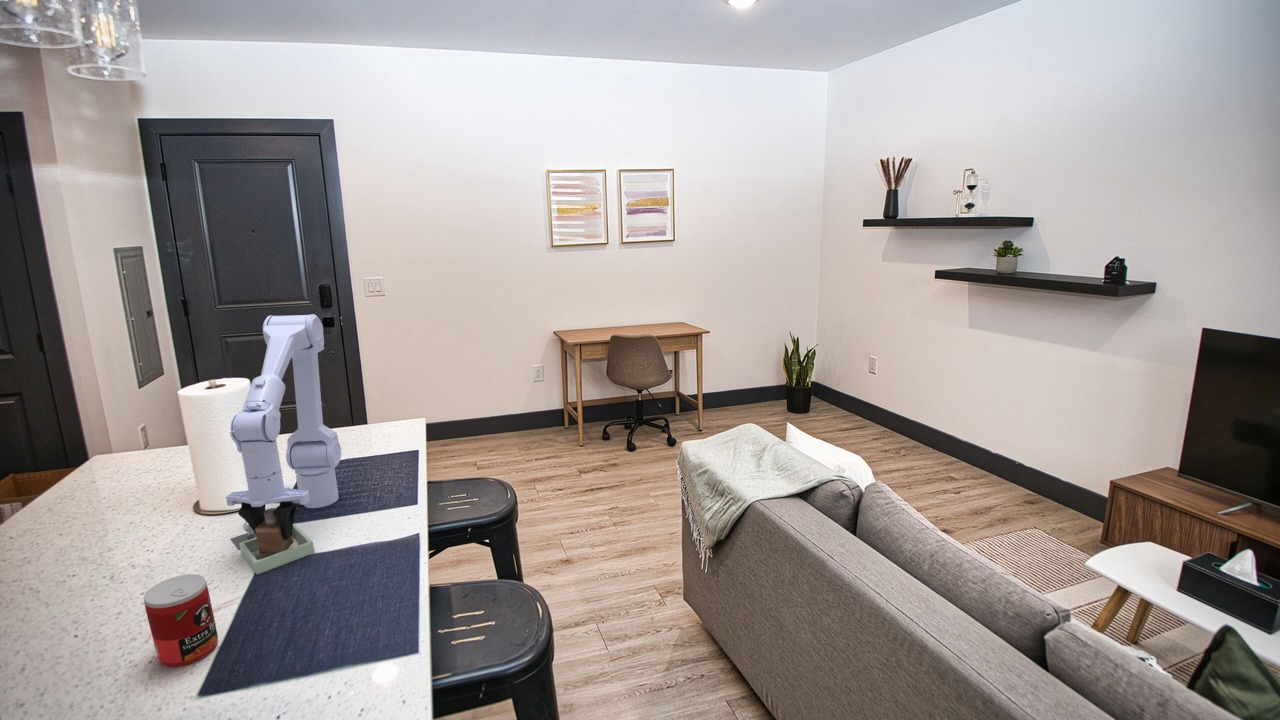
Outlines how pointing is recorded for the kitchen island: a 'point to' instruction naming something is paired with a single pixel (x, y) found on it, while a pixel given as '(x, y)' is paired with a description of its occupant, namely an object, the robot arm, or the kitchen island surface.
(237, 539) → the stud plate
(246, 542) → the bin
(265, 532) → the brown square bottle
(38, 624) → the kitchen island surface
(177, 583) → the canned food
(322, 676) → the kitchen island surface
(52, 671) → the kitchen island surface
